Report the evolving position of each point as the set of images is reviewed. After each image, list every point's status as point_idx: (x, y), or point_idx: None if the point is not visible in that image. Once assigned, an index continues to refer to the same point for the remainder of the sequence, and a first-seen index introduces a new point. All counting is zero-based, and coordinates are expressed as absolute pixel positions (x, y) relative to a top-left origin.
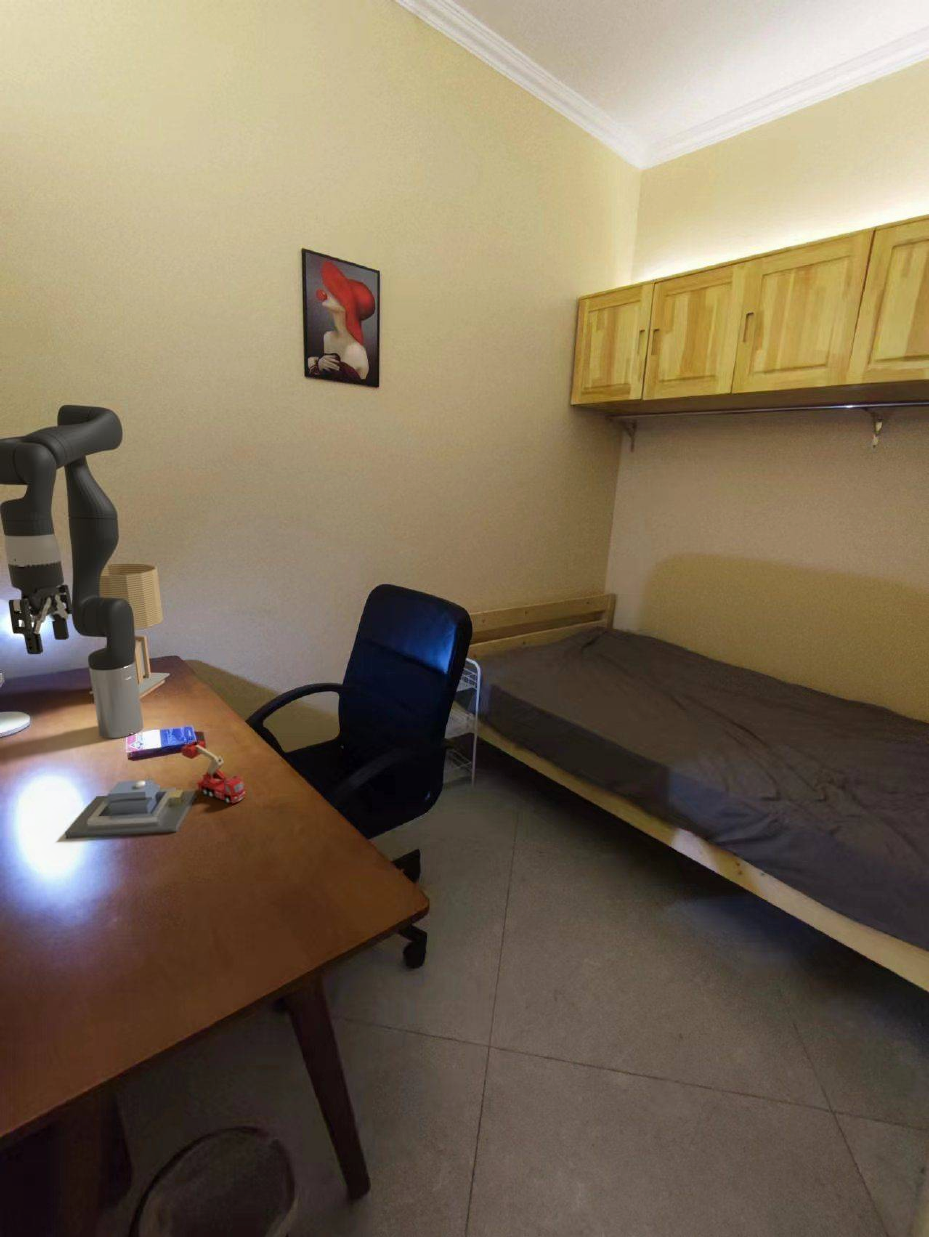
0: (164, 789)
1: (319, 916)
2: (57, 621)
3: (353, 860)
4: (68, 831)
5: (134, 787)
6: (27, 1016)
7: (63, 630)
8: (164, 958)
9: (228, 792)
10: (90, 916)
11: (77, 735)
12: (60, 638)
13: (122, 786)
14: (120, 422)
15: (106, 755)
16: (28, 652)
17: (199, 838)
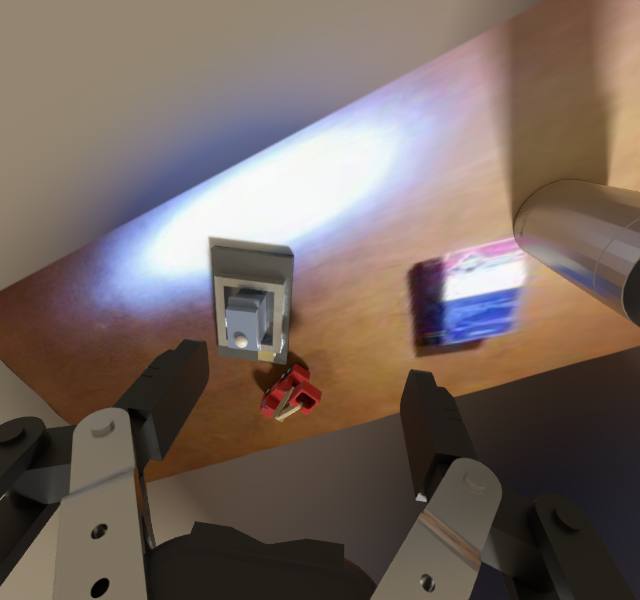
0: (277, 343)
1: None
2: (427, 473)
3: (178, 462)
4: (213, 251)
5: (239, 334)
6: (12, 296)
7: (410, 437)
8: (73, 364)
9: (264, 400)
10: (104, 307)
11: (573, 133)
12: (408, 388)
13: (243, 320)
14: None
15: (444, 224)
16: (185, 342)
17: (209, 370)
